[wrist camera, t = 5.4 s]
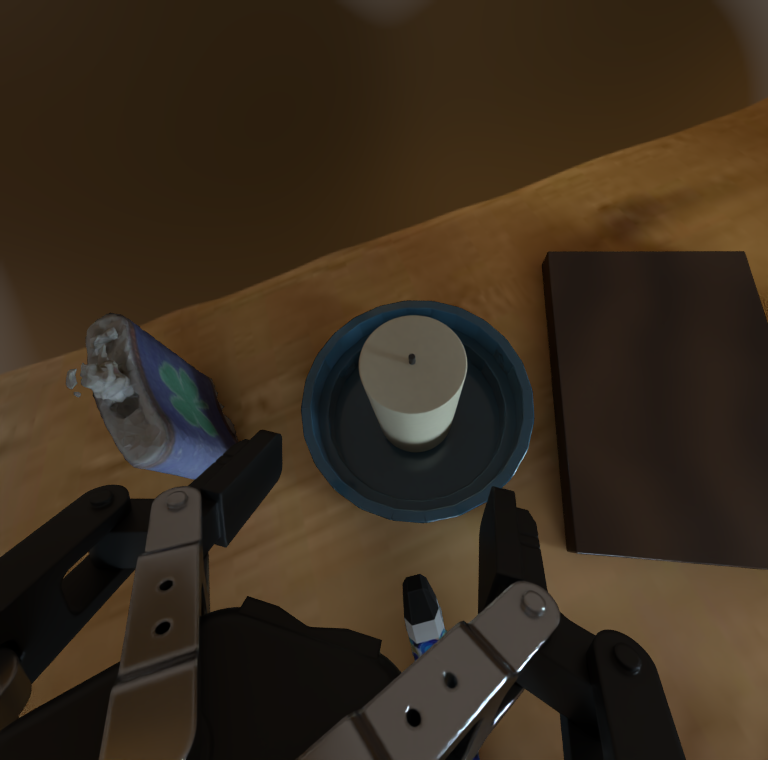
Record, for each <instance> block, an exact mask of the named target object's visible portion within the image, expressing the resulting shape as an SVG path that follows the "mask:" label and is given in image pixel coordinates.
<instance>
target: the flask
mask: <svg viewBox="0 0 768 760" xmlns="http://www.w3.org/2000/svg"><path fill="white" fill-rule="evenodd" d="M86 347H87V353H88V359H87V362H88V365H85V364H84V363H82V365H81V374H80V376H81V377H82V379H81V385H83V386H84V387H87V388H90V389H92V390H93V397H94V398H95V401H96V404H97V408H98V409H99V411H100V414H101V417H102V418H103V420H104V423H105V425H106V427H107V429H108V431H109V432H110V434H111V436H112V437H113V440H114V442H115V444H116V446H117V447H118V449H119V451H120V452H121V453H122V454H123V456H124V458H125V460H127V461H128V462H129V463H130V464H131V465H132V466H133V467H136V468H140V469H147V470H153V471H158V472H162V473H167V474H173V475H177V476H181V477H186V478H190V479H196V478H197V477H198V476H200V475H201V474H202V473H203V472H204V471H205V470H206V469H207V468H208V467H209V466H210V465H211V464H213V463H214V462H216V460H217V459H218V458H219V457H220V456H221V455H223V453H225V452H226V451H227V450H228V449H229V448H230V447H231V446H232V445H234V444H236V443H238V439H237V436H236V431H235V429H234V425H233V424H232V422H231V420H230V419H229V418H227V416H225V415H224V414H223V412H222V409H223V407H224V406H222V404H220V403H219V402H218V399H217V394H218V393H217V392H216V390H215V386H214V384H213V382H212V379H211V378H209V377H207V376H206V375H204V374H202V373H201V372H199V371H198V370H196V369H195V368H194V367H193V366H191V365H190V364H188V363H187V362H186V361H184V360H183V359H182V358H181V357H179V356H178V355H177V354H176V353H173V352H172V351H171V350H170V349H168V348H167V347H166V346H164V345H163V344H162V343H160V342H159V341H157V340H155V338H154V337H152V336H151V335H150V334H148V333H147V332H146V331H143V330H142V329H141V328H140V327H139V326H138V325H136V324H134V323H133V322H132V321H131V320H129V319H127V318H126V317H124V316H123V315H121V314H114V313H109V314H106V315H105V316H103V317H102V318H100V319H97V320H96V321H95V323H93V324H92V325H91V326H90V327H89V329H88V330H87V336H86ZM76 370H77V369H71V370H69V371H68V372H67V377H66V385H67V387H68V388H69V389H73V388H74V386H75V385H76V384H77V381H76V377H75V373H76ZM74 395H75V396H77V397H80V395H81V393H79V392H74Z"/></svg>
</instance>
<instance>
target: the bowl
mask: <svg viewBox="0 0 768 760" xmlns="http://www.w3.org/2000/svg"><path fill="white" fill-rule="evenodd" d="M408 315H418V316H425V317H430V318H433V319H435V320H438V321H440V322H442V323H443V324H445V325H446V326H448V327H449V328H450V329H451V330H452V331H453V332H454V333H455V334H456V335H457V336H458V338H459V339H460V341H461V342H462V344H463V346H464V349H465V352H466V357H467V372H466V377H465V381H464V384H463V387H462V391H461V394H460V397H459V401H458V404H457V407H456V411H455V414H454V417H453V421H452V424H451V427H450V430H449V432H448V434H447V436H446V437H445V439H444V440H443V441H442V442H441V443H440V444H439V445H437V446H436V447H434V448H432V449H430V450H427V451H424V452H408V451H404V450H402V449H399V448H397V447H396V446H394V445H393V444H392V443H391V442H390V441H389V440H388V439H387V438H386V437H385V435H384V433H383V431H382V429H381V427H380V424H379V422H378V420H377V417H376V415H375V412H374V410H373V408H372V405H371V403H370V401H369V398H368V396H367V393H366V391H365V389H364V386H363V384H362V381H361V378H360V374H359V358H360V353H361V350H362V348H363V345H364V343H365V342H366V340H367V339H368V337H369V336H370V335H371V334H372V332H373V331H375V330H376V329H377V328H378V327H379V326H381V325H382V324H384V323H386V322H387V321H389V320H392V319H394V318H398V317H401V316H408ZM301 408H302V409H301V414H302V423H303V432H304V437H305V441H306V443H307V446H308V448H309V451H310V453H311V456H312V458H313V461H314V463H315V465H316V467H317V468H318V469H319V471H320V472H321V473H322V475H323V476H324V477H325V478H326V480H327V481H328V482H329V484H330V485H331V486H332V487H333V489H335V491H337V492H338V493H339V494H341V495H342V496H343V497H345V498H346V499H348V500H349V501H350V502H352V503H353V504H354V505H356V506H357V507H358V508H361V509H362V510H365V511H367V512H370V513H373V514H375V515H378V516H381V517H383V518H386V519H389V520H393V521H402V522H414V523H429V522H434V521H439V520H444V519H449V518H454V517H458V516H461V515H462V514H464V513H466V512H468V511H470V510H472V509H474V508H476V507H478V506H480V505H482V504H483V503H485V502H487V500H488V497H489V494H490V490H491V488H492V486H494V487H498V488H502V487H503V486H504V485H505V484H506V483H507V482H509V481H510V480H511V478H512V477H513V476H514V474H515V472H516V470H517V468H518V467H519V465H520V463H521V461H522V459H523V458H524V456H525V454H526V452H527V449H528V447H529V442H530V438H531V433H532V429H533V424H534V405H533V391H532V387H531V384H530V382H529V379H528V376H527V373H526V370H525V368H524V365H523V363H522V361H521V359H520V358H519V356H518V355H517V353H516V352H515V350H514V349H513V348H512V346H511V345H510V343H509V342H508V340H507V339H506V338H505V337H504V336H503V335H501V334H500V333H499V332H498V331H497V330H496V329H494V328H493V327H492V326H491V325H490V324H489V323H487V322H486V321H484V319H482V318H480V317H478V316H476V315H474V314H472V313H470V312H468V311H466V310H464V309H462V308H459V307H456V306H452V305H448V304H444V303H440V302H435V301H401V302H396V303H392V304H387V305H382V306H379V307H376V308H374V309H372V310H370V311H368V312H365V313H363V314H361V315H359V316H357V317H355V318H353V319H352V320H351V321H349V322H348V323H347V324H346V325H344V326H343V327H342V328H340V329H339V330H338V331H337V332H335V333H334V335H332V337H331V338H330V339H329V340H328V342H327V343H326V344H325V346H324V347H323V348H322V349H321V351H320V352H319V353H318V354H317V356H316V358H315V360H314V362H313V365H312V367H311V369H310V372H309V374H308V376H307V378H306V381H305V386H304V393H303V399H302V405H301Z"/></svg>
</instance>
